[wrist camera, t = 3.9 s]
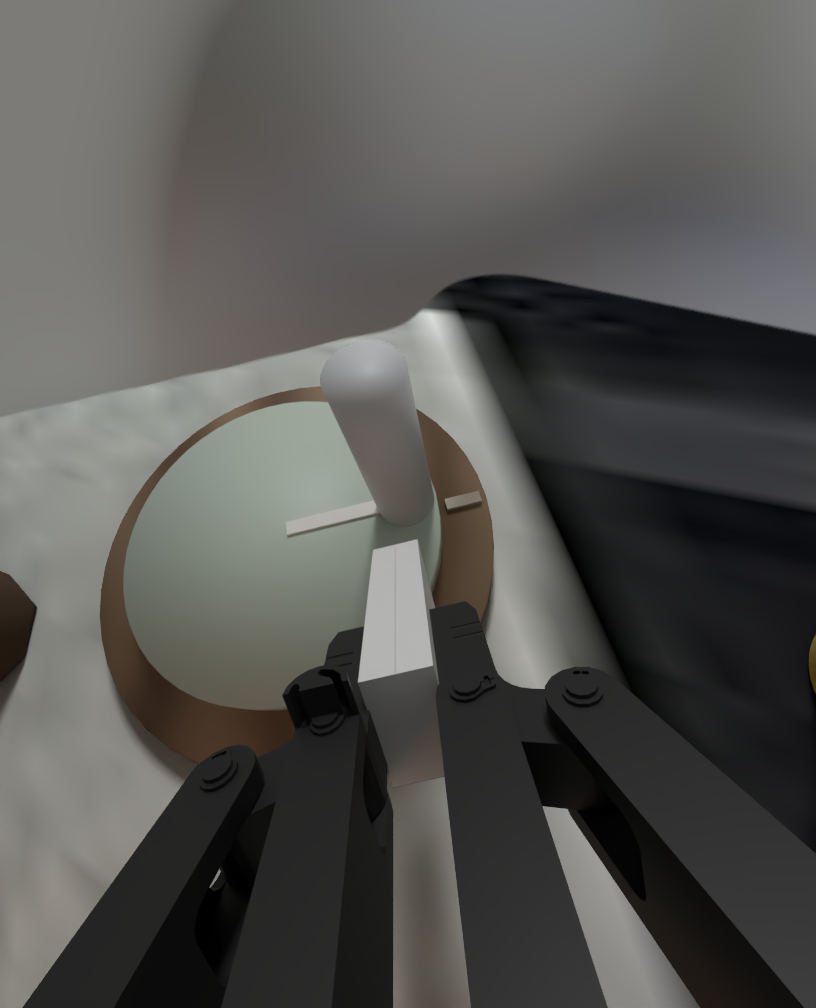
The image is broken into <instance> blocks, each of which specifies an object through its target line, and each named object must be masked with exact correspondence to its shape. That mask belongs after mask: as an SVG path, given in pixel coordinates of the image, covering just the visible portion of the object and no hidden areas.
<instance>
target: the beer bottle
mask: <svg viewBox="0 0 816 1008" xmlns="http://www.w3.org/2000/svg"><path fill="white" fill-rule="evenodd" d="M36 608H37V607H36V606H35V604H34V603H33V602H32V601H31V600H30V598H29V597H28V596H27V595H26V594H25V592H24V591H23V590H22V589H21V588H20V587H19V585H18V584H17V583H16V582H15V581H14V579H13V578H12V577H11V576H10V575H9V574H6V573H4V572H1V571H0V682H1V681H2V680H3V679H4V678H5V677H6V676H7V675H8V674H9V673H10V672H11V671H12V669H13V668H14V667H15V666H16V665H17V664H18V663H19V662H20V661H21V660H22V659H23V658H24V657H25V654H26V650H27V645H28V641H29V637H30V633H31V629H32V624H33V620H34V616H35V612H36Z"/></svg>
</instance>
